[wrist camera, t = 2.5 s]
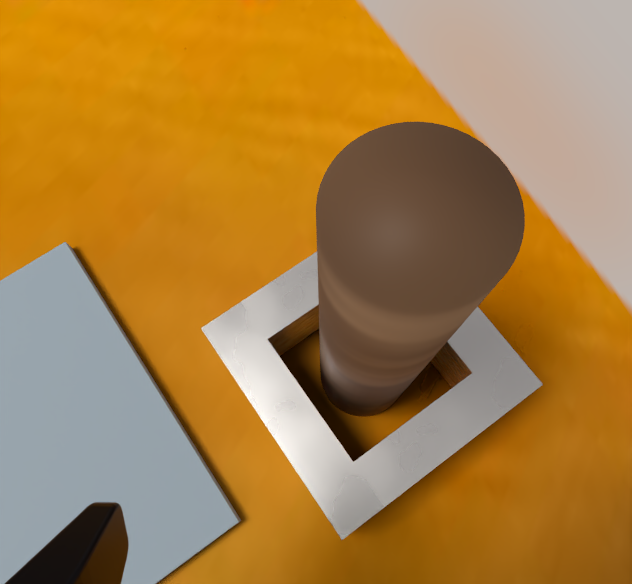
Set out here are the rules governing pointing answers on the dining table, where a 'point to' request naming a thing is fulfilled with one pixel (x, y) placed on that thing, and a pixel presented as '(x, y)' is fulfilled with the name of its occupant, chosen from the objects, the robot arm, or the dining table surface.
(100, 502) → the robot arm
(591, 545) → the dining table surface
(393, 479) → the collar
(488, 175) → the walnut rod
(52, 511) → the rubber mat
